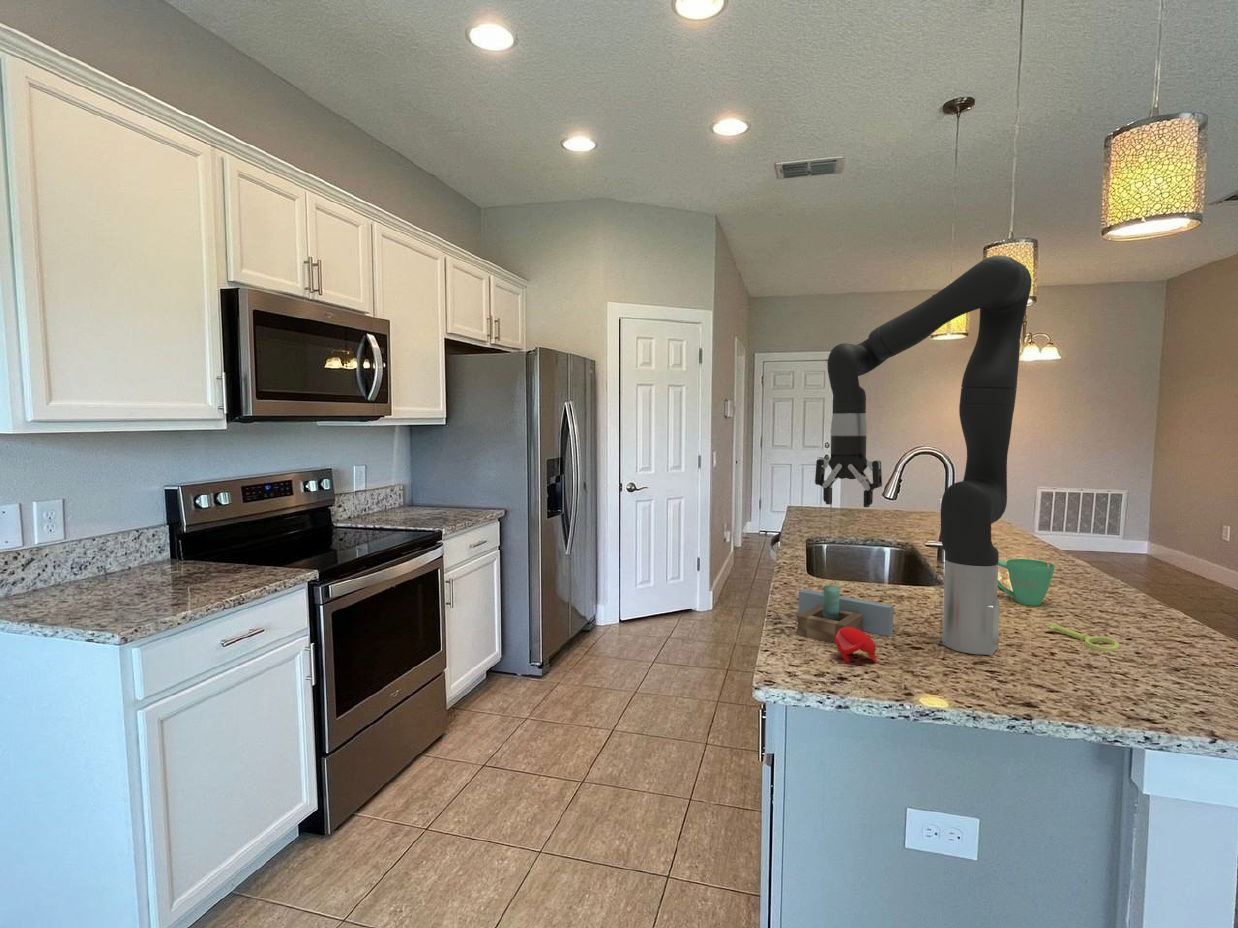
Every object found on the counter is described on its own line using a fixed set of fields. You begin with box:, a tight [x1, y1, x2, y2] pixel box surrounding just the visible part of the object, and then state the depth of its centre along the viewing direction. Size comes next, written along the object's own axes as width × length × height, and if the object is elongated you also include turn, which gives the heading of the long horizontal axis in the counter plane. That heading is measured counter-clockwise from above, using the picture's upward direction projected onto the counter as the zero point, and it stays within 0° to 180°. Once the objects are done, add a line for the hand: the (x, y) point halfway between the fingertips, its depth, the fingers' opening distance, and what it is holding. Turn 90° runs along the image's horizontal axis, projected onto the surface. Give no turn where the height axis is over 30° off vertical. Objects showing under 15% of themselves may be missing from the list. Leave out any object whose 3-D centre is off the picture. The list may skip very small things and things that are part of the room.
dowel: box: [822, 584, 841, 621], centre depth 131 cm, size 3×3×10 cm
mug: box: [997, 558, 1056, 607], centre depth 155 cm, size 15×10×10 cm
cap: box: [835, 627, 878, 664], centre depth 117 cm, size 8×6×6 cm
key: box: [1045, 622, 1121, 652], centre depth 126 cm, size 7×12×2 cm, turn 43°
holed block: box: [797, 605, 864, 644], centre depth 131 cm, size 10×10×4 cm
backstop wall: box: [798, 589, 894, 637], centre depth 137 cm, size 20×2×6 cm, turn 49°
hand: (847, 505), depth 140 cm, fingers open, 8 cm apart
